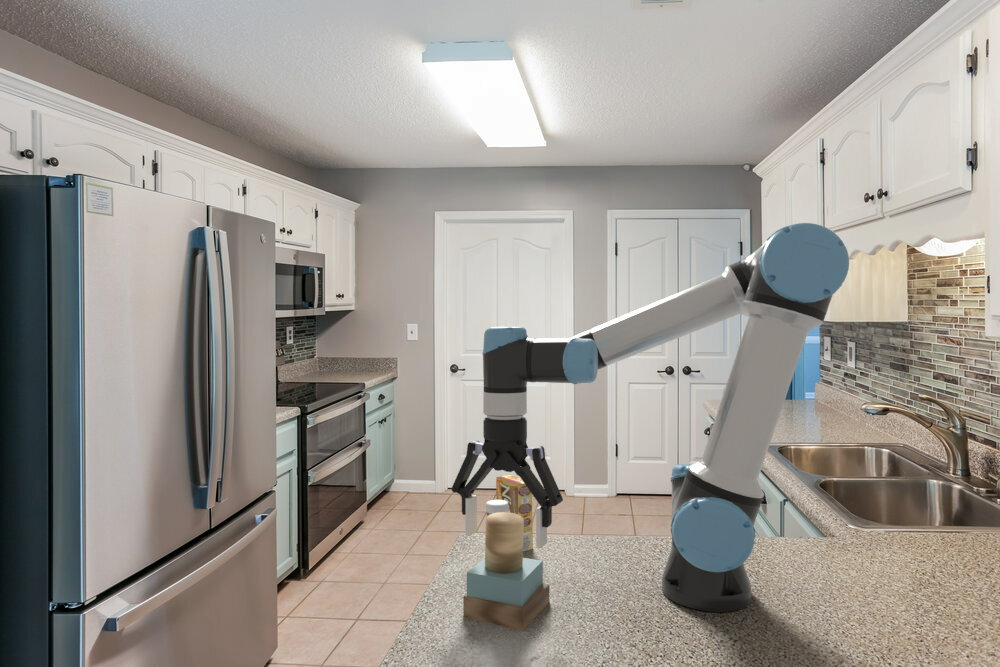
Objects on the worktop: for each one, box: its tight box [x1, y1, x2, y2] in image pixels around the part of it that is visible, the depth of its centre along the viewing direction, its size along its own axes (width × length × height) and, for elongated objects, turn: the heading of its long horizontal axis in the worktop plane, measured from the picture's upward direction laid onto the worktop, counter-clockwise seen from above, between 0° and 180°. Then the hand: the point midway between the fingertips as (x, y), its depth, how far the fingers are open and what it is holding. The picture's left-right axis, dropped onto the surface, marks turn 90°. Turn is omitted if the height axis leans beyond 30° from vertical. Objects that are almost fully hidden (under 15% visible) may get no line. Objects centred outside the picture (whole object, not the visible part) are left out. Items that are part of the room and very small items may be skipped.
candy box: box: [495, 474, 534, 552], centre depth 136 cm, size 9×4×15 cm, turn 33°
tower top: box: [466, 557, 544, 606], centre depth 106 cm, size 10×10×4 cm
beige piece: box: [484, 512, 524, 574], centre depth 106 cm, size 6×6×8 cm
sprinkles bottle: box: [485, 499, 508, 517], centre depth 125 cm, size 5×5×14 cm
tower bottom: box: [462, 582, 550, 632], centre depth 106 cm, size 11×11×4 cm
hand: (505, 539), depth 106 cm, fingers open, 13 cm apart
